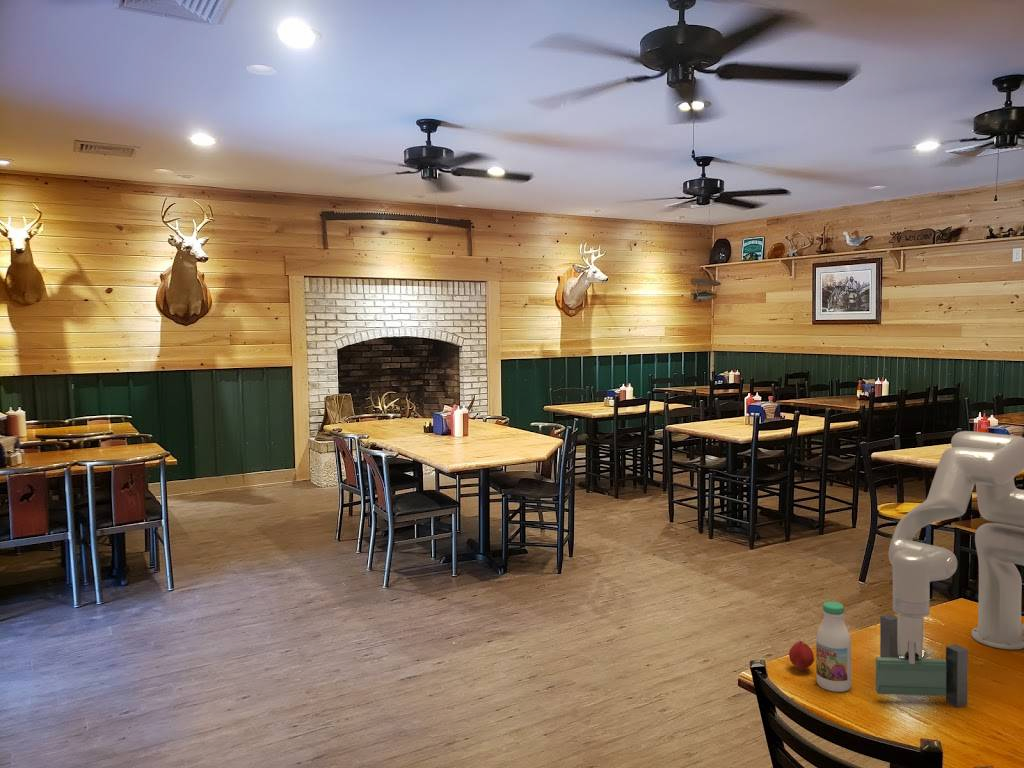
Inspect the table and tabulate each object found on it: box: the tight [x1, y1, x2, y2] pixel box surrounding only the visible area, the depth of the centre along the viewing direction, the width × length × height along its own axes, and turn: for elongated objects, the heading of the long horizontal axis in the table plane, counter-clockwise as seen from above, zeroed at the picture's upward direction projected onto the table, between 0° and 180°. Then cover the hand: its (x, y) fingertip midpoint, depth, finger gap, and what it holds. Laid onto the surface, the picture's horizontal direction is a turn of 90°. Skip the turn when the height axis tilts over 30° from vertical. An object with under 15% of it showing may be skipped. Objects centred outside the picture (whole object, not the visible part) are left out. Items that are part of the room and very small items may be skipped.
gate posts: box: [879, 613, 969, 708], centre depth 175 cm, size 3×22×13 cm, turn 18°
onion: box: [788, 639, 815, 672], centre depth 185 cm, size 6×6×8 cm
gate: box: [875, 656, 946, 697], centre depth 167 cm, size 14×2×8 cm, turn 82°
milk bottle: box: [815, 601, 852, 693], centre depth 176 cm, size 8×8×20 cm
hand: (911, 680), depth 172 cm, fingers closed
